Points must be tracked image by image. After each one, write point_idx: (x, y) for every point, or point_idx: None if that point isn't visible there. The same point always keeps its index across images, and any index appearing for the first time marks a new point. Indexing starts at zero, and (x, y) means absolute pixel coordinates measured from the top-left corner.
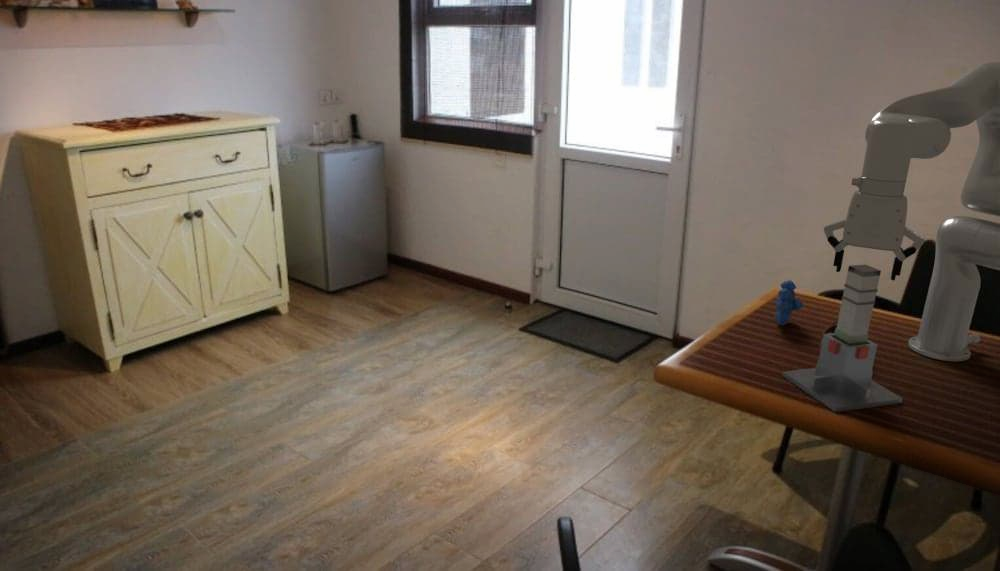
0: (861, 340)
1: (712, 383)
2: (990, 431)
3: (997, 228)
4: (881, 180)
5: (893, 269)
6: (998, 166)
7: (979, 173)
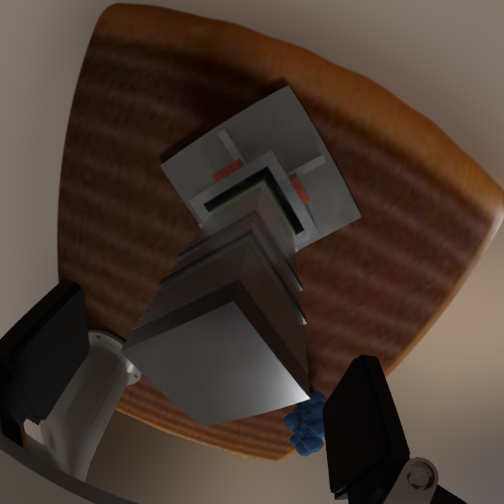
0: (228, 198)
1: (467, 159)
2: (69, 120)
3: None
4: None
5: (43, 320)
6: None
7: None
